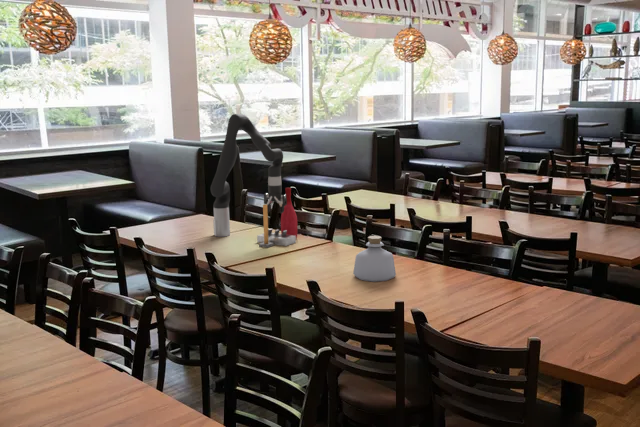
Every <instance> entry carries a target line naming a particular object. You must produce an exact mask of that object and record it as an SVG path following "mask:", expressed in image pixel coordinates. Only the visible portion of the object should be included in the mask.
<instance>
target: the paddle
mask: <svg viewBox="0 0 640 427" xmlns="http://www.w3.org/2000/svg"><path fill="white" fill-rule="evenodd" d="M273 230H274V229H273V228H268V235H269V234H271V233H273Z"/></svg>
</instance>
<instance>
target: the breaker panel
mask: <svg viewBox="0 0 640 427" xmlns="http://www.w3.org/2000/svg"><path fill="white" fill-rule="evenodd" d="M274 234H275V232H272V233H271V234H269V235H268V242H271V243H274V246H275V245H276V246H283V247H287V246H290V245H292V244H293V245H294V244H295V243H296V242H297V237H296V235H288V234H286V235H285V236H281V235H282V234H281V233H279V234H278V235H274ZM256 239H257V240H256V243H259V244H260V243H263V242H264V232H263V233H260V234H257V235H256Z"/></svg>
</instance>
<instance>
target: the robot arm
mask: <svg viewBox="0 0 640 427" xmlns="http://www.w3.org/2000/svg"><path fill="white" fill-rule="evenodd" d="M239 131H243V132H245V133H246V134H248V136H249V138H250V139H251V142H252V143H253V145H254V146H255V147H256V149H258V150H259V151H261V154H262V155H263V157H264V159H265V160H266V161H267V162H269V163H271V164H270V166H269V167H268V172H267V173H268V179H267V183H268V184H267V187H268V188H267V190H268V192H265V193H264V194H263V205H267V211H268V213H270V212H272V203H273V202H274V203H277V204H278V205H279V213H280V214H282V213H283V212H284V207H285V205H287V198H286V195H285V194H282V192H283V191H282V189H283V188H282V185H283V184H282V166H283V160H284V152H283V151H282V149H281V148H271V147H272V144H271V142H270V141H269V140H268V139H267V138H266V137H265V136H264V135H263V134H262V133H260V131H259V130H258V129H257V128H256V126H255V125H254V124H253V122H252V121H251V120H250V118H249V117H248V116H247V115H245V114H242V113H233V114H231V115H230V117H229V119H228V122H227V129H226V134H225V139H224V143H223V146H222V149H221V153H220V157H219V161H218V164H217V168H216V172H215V174H214V177H213V179H212V182H211V184H210V188H209V189H210V193H211V195H212V196H213V197H215V200H214V202H213V206H212V207H213V220H212V222H213V235H214V236H215V237H222V238H223V237H228V236H230V235H231V226H230V225H231V224H230V201H231V188H230V184H229V182H227V178H228V176H229V174H230V172H231V171H232V169H233V167H234V166H235V163H236V160H237V157H238V152H239V151H238V145H237V138H238V136H237V135H238V132H239Z"/></svg>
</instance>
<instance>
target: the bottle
mask: <svg viewBox="0 0 640 427" xmlns="http://www.w3.org/2000/svg"><path fill="white" fill-rule="evenodd" d="M367 240H368V242H366V244H365V246H366V247H367V248H366V249H364V250H362V251H360V252H358V253H357V254H356V255H355V260H354V266H353V275H354V277H356V278H357V279H359V280H360V281H365V282H366V281H367V282H374V283H376V282H377V283H378V282H387V281H390V280H392V279H394V278H395V277H396V275H397V273H396V267H395V266H396V265H395V260H394V259H395V258H394V256H393V253H392V252H391V251H387V249H384V248H382V246H384V245H385V244H384V243H383V242H382V236H379V235H369V236H368V237H367Z"/></svg>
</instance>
